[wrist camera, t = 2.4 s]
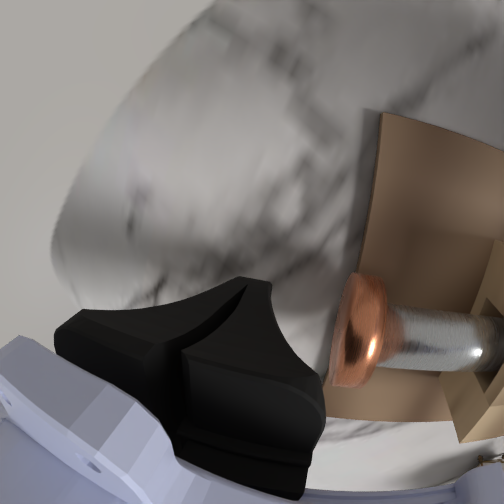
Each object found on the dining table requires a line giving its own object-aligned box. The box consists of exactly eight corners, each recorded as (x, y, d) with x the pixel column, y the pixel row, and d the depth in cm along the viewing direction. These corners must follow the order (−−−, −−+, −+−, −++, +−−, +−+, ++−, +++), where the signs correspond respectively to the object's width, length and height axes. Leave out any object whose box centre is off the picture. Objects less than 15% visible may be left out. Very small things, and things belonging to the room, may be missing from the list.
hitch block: (583, 199, 7) (638, 222, 2) (495, 410, 12) (515, 461, 7) (380, 114, 10) (423, 83, 5) (313, 407, 15) (303, 481, 10)
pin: (523, 287, 9) (566, 329, 5) (492, 355, 11) (520, 406, 7) (350, 256, 11) (363, 308, 7) (329, 341, 12) (326, 409, 9)
